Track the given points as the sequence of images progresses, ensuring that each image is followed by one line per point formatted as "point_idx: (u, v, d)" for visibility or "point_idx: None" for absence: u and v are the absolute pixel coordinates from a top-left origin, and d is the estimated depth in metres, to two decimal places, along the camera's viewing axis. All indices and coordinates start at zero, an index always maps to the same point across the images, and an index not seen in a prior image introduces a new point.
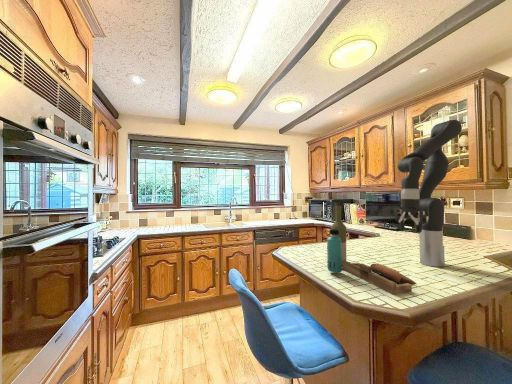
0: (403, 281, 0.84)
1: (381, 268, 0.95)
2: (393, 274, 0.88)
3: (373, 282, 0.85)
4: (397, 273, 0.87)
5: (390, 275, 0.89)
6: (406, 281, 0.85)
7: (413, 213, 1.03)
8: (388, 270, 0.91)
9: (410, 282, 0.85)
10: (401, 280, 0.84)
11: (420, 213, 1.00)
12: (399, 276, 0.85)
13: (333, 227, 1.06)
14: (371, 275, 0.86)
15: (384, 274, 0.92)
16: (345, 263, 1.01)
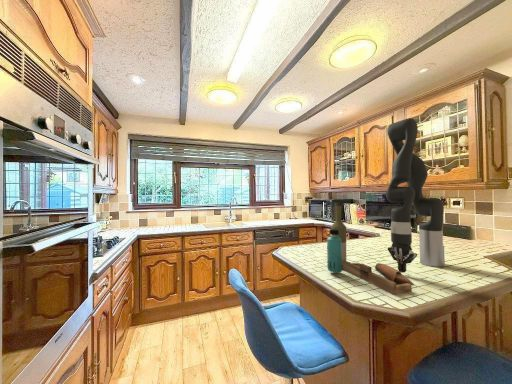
0: (398, 281, 0.85)
1: (383, 268, 0.96)
2: (390, 274, 0.89)
3: (373, 282, 0.85)
4: (394, 273, 0.88)
5: (388, 274, 0.90)
6: (401, 281, 0.85)
7: (404, 252, 0.92)
8: (388, 270, 0.92)
9: None
10: (395, 280, 0.85)
11: (410, 255, 0.89)
12: (394, 276, 0.86)
13: (333, 227, 1.06)
14: (371, 275, 0.86)
15: (384, 273, 0.93)
16: (345, 263, 1.01)
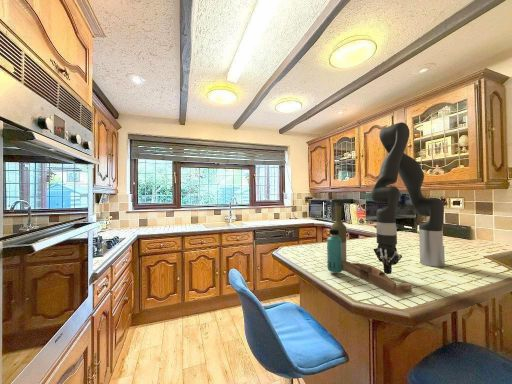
0: None
1: None
2: None
3: (373, 282, 0.85)
4: (377, 273, 0.88)
5: None
6: None
7: (389, 253, 0.90)
8: None
9: None
10: None
11: (395, 257, 0.88)
12: None
13: (333, 227, 1.06)
14: (371, 275, 0.86)
15: None
16: (345, 263, 1.01)
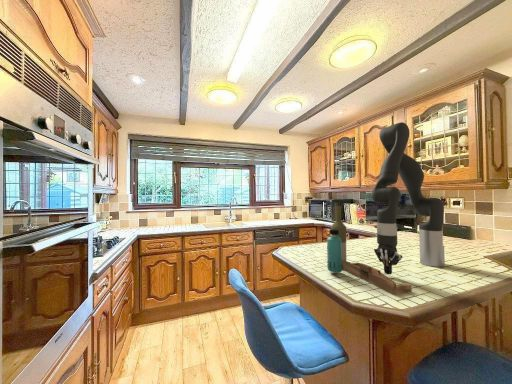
0: None
1: None
2: None
3: (373, 282, 0.85)
4: (376, 272, 0.88)
5: None
6: None
7: (389, 254, 0.91)
8: None
9: None
10: None
11: (395, 257, 0.88)
12: None
13: (333, 227, 1.06)
14: (371, 275, 0.86)
15: None
16: (345, 263, 1.01)
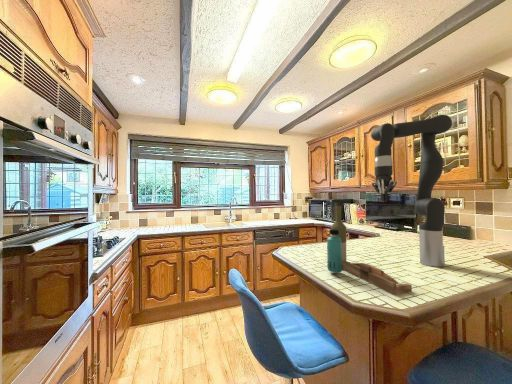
0: None
1: None
2: None
3: (373, 282, 0.85)
4: (379, 272, 0.88)
5: None
6: None
7: (385, 182, 1.03)
8: (372, 269, 0.93)
9: None
10: None
11: (390, 183, 1.00)
12: (380, 275, 0.86)
13: (333, 227, 1.06)
14: (371, 275, 0.86)
15: None
16: (345, 263, 1.01)
